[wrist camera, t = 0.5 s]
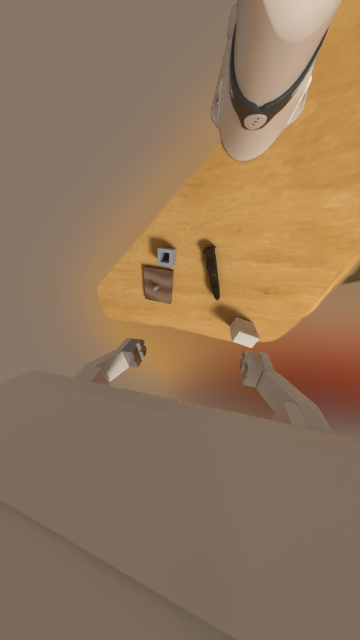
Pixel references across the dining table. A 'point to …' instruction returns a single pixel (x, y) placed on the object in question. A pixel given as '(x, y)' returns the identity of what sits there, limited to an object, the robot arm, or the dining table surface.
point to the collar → (162, 256)
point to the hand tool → (212, 270)
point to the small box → (243, 332)
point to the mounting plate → (158, 284)
